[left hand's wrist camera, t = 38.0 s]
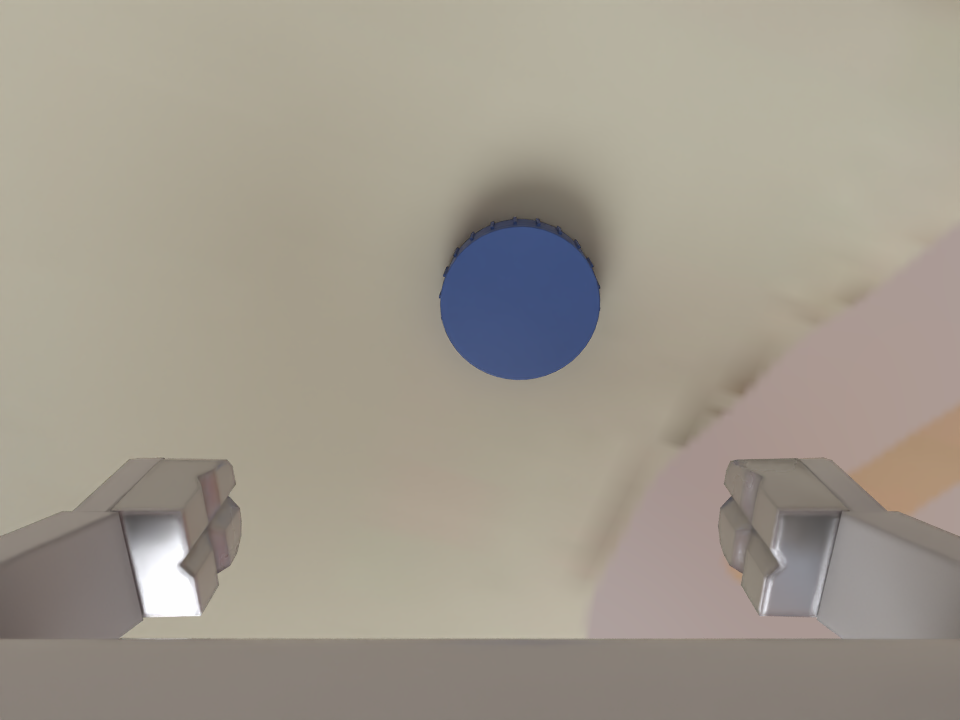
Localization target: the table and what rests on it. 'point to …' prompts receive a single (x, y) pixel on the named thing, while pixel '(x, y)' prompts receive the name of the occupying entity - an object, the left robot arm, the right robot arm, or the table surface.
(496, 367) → the lid
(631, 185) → the table surface
